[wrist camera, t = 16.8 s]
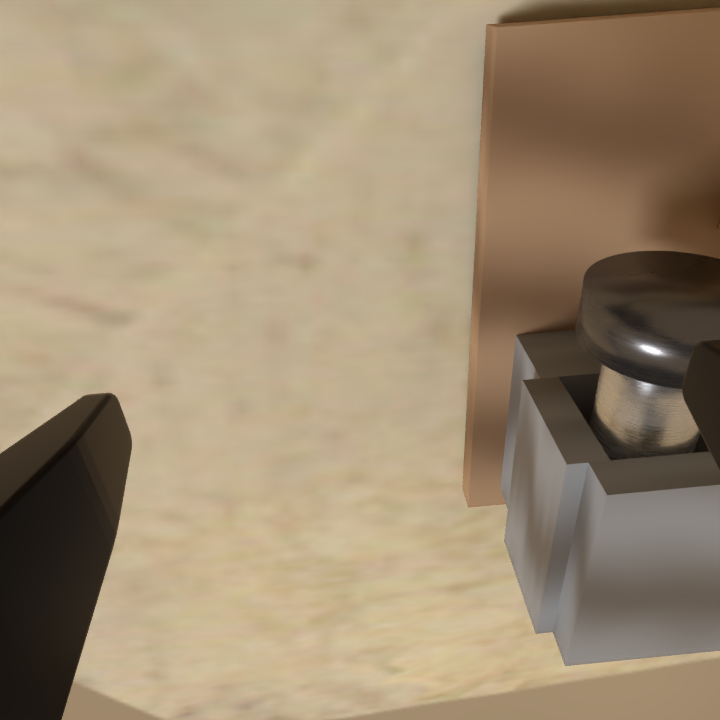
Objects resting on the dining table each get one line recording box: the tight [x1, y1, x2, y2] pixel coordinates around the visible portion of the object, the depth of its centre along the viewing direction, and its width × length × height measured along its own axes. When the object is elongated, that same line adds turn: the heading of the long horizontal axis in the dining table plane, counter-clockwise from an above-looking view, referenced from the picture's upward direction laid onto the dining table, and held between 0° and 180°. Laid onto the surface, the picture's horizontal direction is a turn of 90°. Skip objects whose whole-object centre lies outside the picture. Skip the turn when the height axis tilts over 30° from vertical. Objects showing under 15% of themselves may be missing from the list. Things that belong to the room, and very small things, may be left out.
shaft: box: [575, 251, 720, 461], centre depth 19 cm, size 15×5×5 cm, turn 3°
